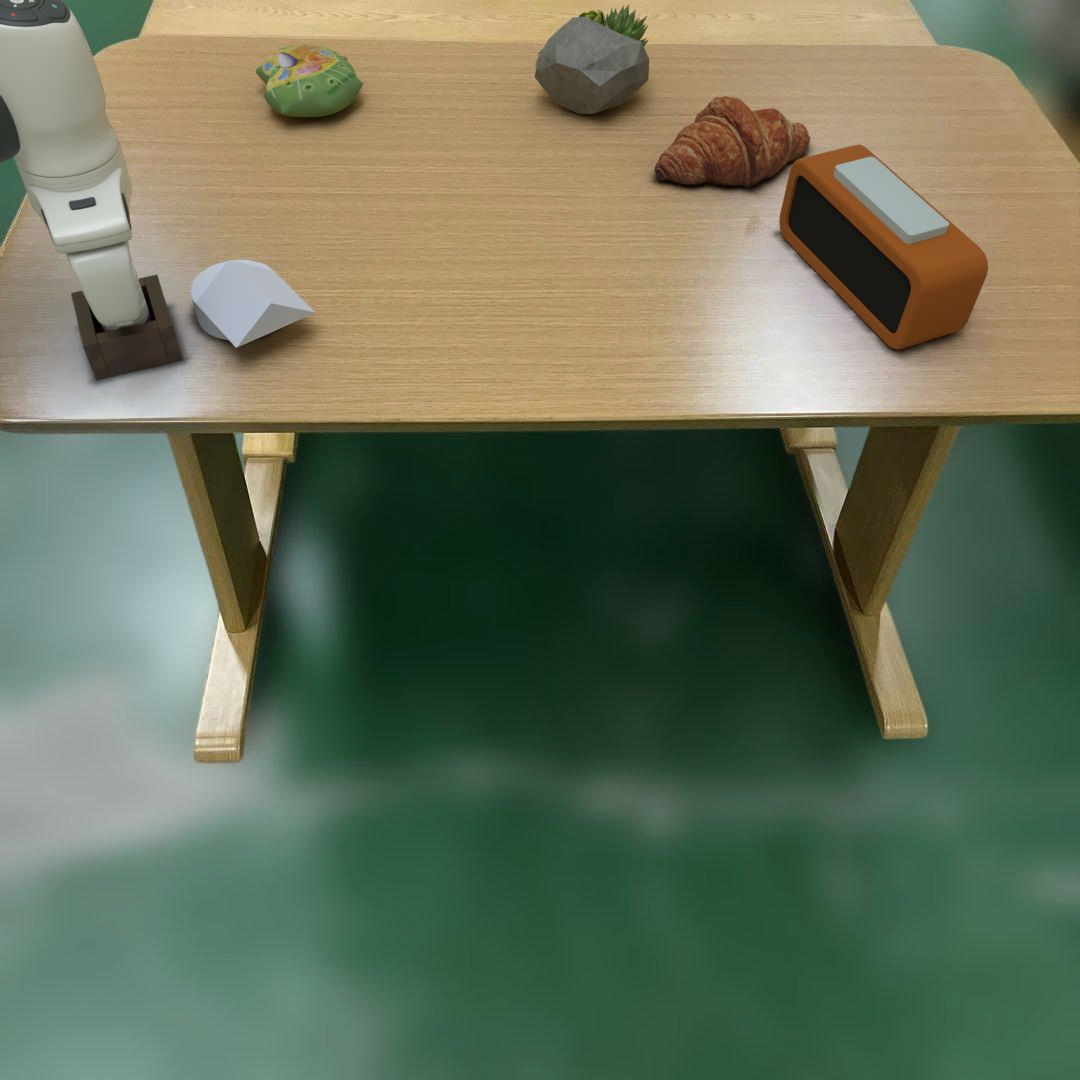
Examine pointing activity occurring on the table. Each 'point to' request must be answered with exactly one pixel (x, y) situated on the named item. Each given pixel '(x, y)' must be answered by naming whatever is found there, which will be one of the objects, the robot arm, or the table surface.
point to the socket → (129, 336)
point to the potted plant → (594, 61)
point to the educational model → (308, 81)
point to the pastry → (732, 146)
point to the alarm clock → (881, 246)
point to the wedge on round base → (244, 301)
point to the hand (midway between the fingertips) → (119, 302)
